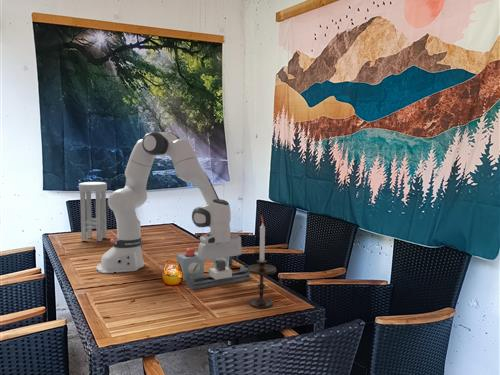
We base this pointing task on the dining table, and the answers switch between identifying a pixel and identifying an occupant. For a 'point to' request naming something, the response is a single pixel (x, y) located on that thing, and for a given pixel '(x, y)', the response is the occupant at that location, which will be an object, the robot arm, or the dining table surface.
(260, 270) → the candlestick
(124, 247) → the robot arm
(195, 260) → the gauge cabinet
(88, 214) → the stool
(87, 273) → the dining table surface
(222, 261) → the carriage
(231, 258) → the medicine bottle
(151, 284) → the dining table surface
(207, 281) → the rail
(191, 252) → the button
